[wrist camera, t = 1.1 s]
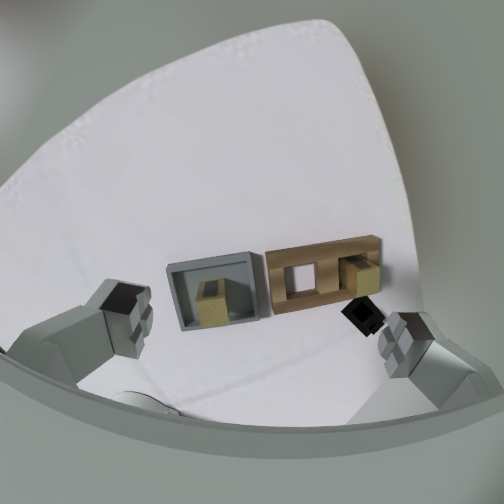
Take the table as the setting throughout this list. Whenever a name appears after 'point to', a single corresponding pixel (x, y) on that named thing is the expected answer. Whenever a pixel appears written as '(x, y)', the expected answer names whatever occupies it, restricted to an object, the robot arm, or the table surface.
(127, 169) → the table surface
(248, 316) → the shallow grey tray
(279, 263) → the pallet
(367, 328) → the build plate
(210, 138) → the table surface
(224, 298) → the block
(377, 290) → the block
